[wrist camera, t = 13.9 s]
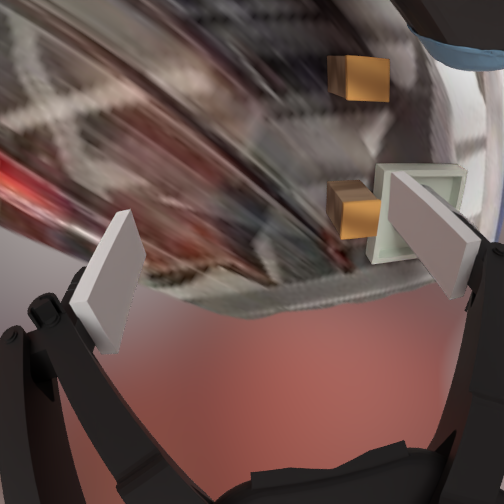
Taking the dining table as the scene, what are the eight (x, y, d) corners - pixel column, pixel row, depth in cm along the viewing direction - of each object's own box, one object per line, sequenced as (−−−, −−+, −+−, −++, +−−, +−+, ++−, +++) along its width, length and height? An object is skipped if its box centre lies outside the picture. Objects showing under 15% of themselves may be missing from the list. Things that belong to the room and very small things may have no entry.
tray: (375, 163, 44) (384, 170, 41) (457, 164, 44) (467, 170, 42) (365, 253, 53) (371, 264, 50) (440, 244, 53) (448, 253, 51)
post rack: (326, 54, 35) (346, 55, 29) (363, 57, 35) (389, 59, 29) (325, 213, 48) (341, 239, 42) (357, 210, 48) (376, 236, 42)
